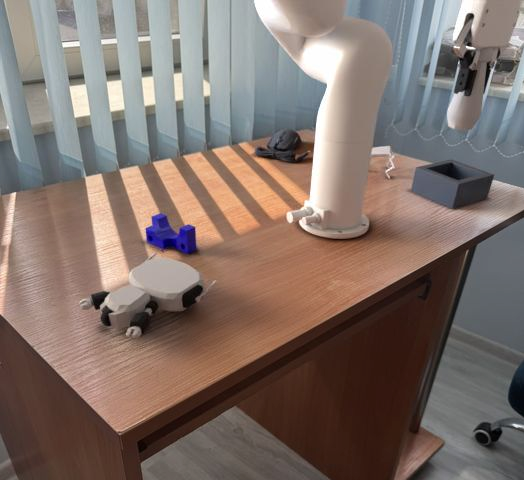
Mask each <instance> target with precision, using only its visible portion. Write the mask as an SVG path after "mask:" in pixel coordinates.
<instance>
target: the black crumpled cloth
mask: <svg viewBox="0 0 524 480" xmlns="http://www.w3.org/2000/svg"><path fill="white" fill-rule="evenodd" d="M302 143H303V141H302V138H301V136H300V134H299V133H298V132H297V131H296V130H293V129H289V128H285V129H281V130H279V131H277V132H276V133H274V134H273V135H272V136H271V137H270V138H269V140H268V142H267V144H266V147H264V146H261V145H259V146H256V148H255V150H254V151H253V155H254V156H256V157H261V158H273V159H279V160H280V161H284V162H287V163H288V162H289V163H297V162H298V163H299V162H300V161H302V160H303V159H305V158H306V157H307V156H309V155H310V153H311V152H312V151H311V150H307V151H306V152H305V151H304V152H303V153H302V154H300V155H299V156H298V157H296V156H297V153H296V152H295V149H296V148H299V147H301V145H302Z"/></svg>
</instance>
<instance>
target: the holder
mask: <svg viewBox="0 0 524 480" xmlns="http://www.w3.org/2000/svg"><path fill="white" fill-rule="evenodd" d="M494 178H495V174H494V173H491V172H488V171H485V170H483V169H480V168H476V167H475V166H471V165H469V164H466V163H463V162H460V161H457V160H454V159H447V160H446V159H445V160H441V161H437V162H433V163H429V164H425V165H420V166H416V167H415V169H414V173H413V178H412V182H411V183H412V184H411V188H410V192H412V193H414V194H416V195H419V196H422V197H424V198H426V199H428V200H431V201H433V202H435V203H437V204H440V205H442V206H445V207H446V208H449V209H451V210H453V209H456V208H460V207H464V206H467V205H471V204H474V203H477V202H480V201H484V200H487V199H488V198H489V195H490V190H491V187H492V184H493V182H494V181H493V180H494Z"/></svg>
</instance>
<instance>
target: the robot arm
mask: <svg viewBox="0 0 524 480" xmlns="http://www.w3.org/2000/svg"><path fill="white" fill-rule="evenodd" d="M253 2H254V6H255V9H256V12H257V14H258V17H259V19H260V21H261V23H262V24H263V25H264V27H265V28H266V29H267V30H268V32H269V33H270V34H271V35H272V36H273V38H274V39H275V40H276V41H277V43H278V44H279V45H280V46H281V48H283V50H284V51H285V52H286V53H287V54H288V55H289V57H290V58H291V60H293V62H295V64H296V65H297V66H298V67H299V68H300V69H301V70H302V71H303V72H304V74H306V75H308V77H310V78H311V79H314V80H316V81H318V82H321V83H323V84H326V89H325V92H324V95H323V98H322V100H321V102H320V105H319V108H318V112H317V116H316V124H315V136H314V147H313V158H312V168H311V179H310V181H311V182H310V190H309V191H310V192H309V199H305V200H304V204H303V206H301V208H300V209H294V210H291V211H288V212H287V213H286V221H287V222H288V223H289V224H293V223H299V226H300V227H301V228H302V229H303V230H305V231H306V232H308V233H309V234H312V235H314V236H317V237H321V238H325V239H333V240H334V239H335V240H346V239H352V238H357V237H361V236H362V235H364V234H365V233H367V231H368V230H369V227H370V220H369V217H368V216H367V215H366V214H364V213H363V210H364V204H365V198H366V197H365V196H366V190H367V185H368V184H367V183H368V177H369V171H370V165H371V158H372V157H371V153H372V148H374V141H375V133H376V126H377V120H378V115H379V110H380V106H381V102H382V98H383V95H384V92H385V89H386V86H387V84H388V81H389V77H390V74H391V71H392V67H393V61H394V50H393V49H394V48H393V44H392V41H391V38H390V37H389V35H388V33H387V32H386V30H384V28H382V27H381V26H380V25H378V24H377V23H375V22H373V21H370V20H367V19H363V18H358V17H353V16H346V15H345V14H346V12H347V11H346V10H347V5H348V1H347V0H253ZM521 4H522V0H462V1H461V5H460V9H459V12H458V16H457V18H456V22H455V25H454V30H453V34H452V43H453V44H454V45H453V47H452V51H453V52H454V54H455V55H456V56H457V60H458V63H457V67H458V73H457V77H456V81H455V85H454V89H453V93H454V94H458V93H459V92H463V91H464V90H465V91H464V96H470V95H471V93H472V89H473V86H474V82H475V78H476V75H477V71H478V70H474V69H475V68H476V66H477V62H478V59H479V56H480V53H481V50H482V48H490V47H491V48H493V49H494V54H493V57H492V59H491V61H489V62H487V66H486V75H485V84H484V93H483V95H485V94H486V89H487V86H488V83H489V79H490V76H491V73H492V70H493V69H494V67H495V65H496V61H498V58H499V57H500V55H502V54H503V53H504V52H505V51H507V50H508V46H509V43H510V41H511V39H512V36H513V33H514V30H515V27H516V24H517V20H518V16H519V12H520V8H521ZM471 44H472V46H473V47H471V46H470V45H471ZM470 51H473V52H474V53H473V56H472V55H471V52H470Z"/></svg>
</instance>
